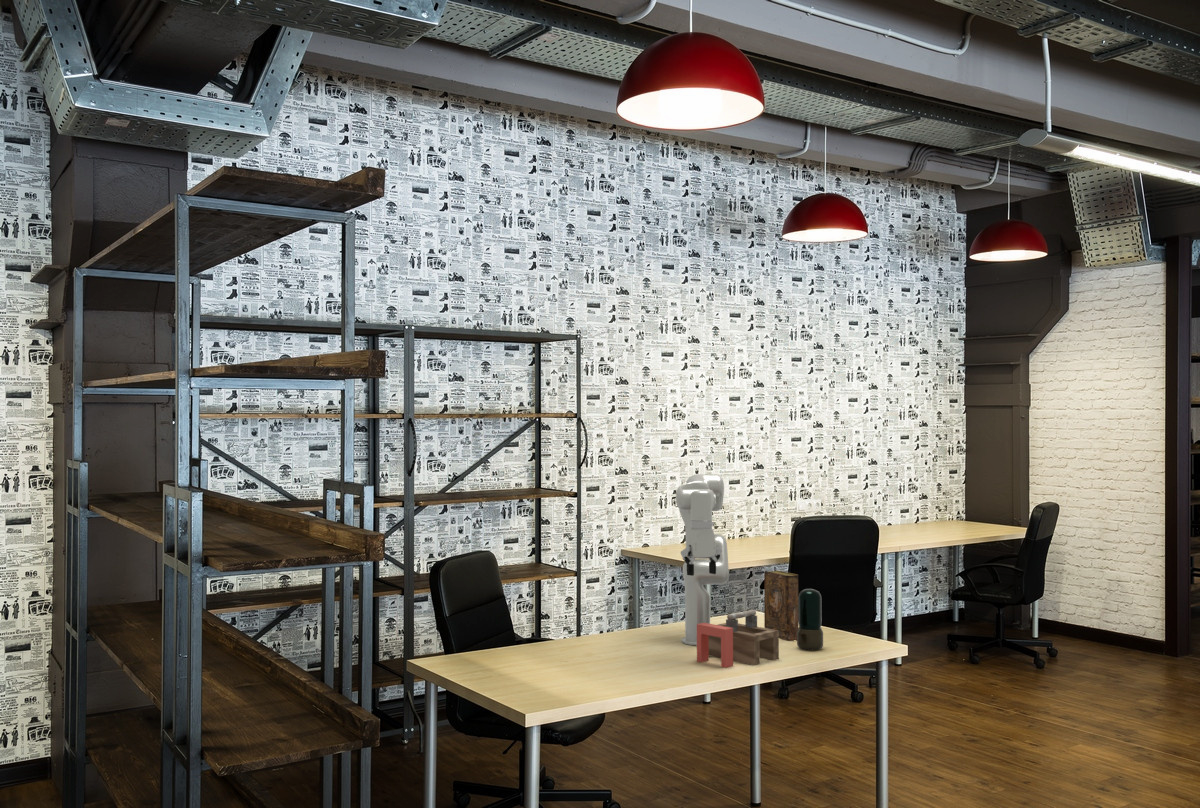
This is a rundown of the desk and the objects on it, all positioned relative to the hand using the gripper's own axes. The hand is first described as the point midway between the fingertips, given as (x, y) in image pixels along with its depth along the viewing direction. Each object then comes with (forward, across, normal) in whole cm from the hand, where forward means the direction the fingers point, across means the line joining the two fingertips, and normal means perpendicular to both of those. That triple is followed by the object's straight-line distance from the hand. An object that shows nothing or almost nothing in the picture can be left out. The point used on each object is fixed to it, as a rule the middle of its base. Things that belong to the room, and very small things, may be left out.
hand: (701, 574), depth 351 cm
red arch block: (+31, -2, +4) cm, 31 cm away
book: (+29, -53, -18) cm, 63 cm away
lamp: (+30, -47, +4) cm, 56 cm away
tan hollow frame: (+30, -17, +1) cm, 35 cm away
